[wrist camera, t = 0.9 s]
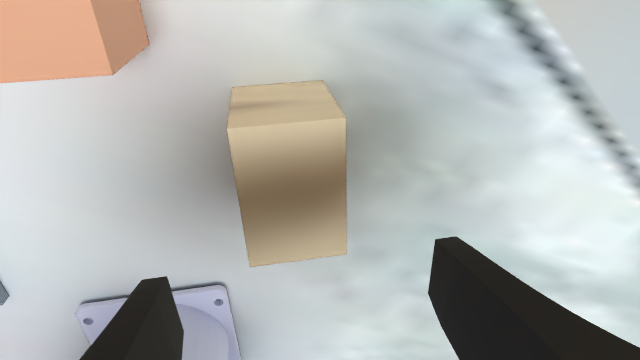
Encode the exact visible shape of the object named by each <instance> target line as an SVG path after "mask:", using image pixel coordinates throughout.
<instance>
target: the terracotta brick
mask: <svg viewBox="0 0 640 360" xmlns="http://www.w3.org/2000/svg"><path fill="white" fill-rule="evenodd" d="M148 45H150V44H149V40H148V36H147V32H146V28H145V24H144V20H143V15H142V11H141V7H140V3H139V0H0V83H9V82H23V81H37V80H50V79H64V78H77V77H91V76H104V75H113V74H114V73H116V72H117V71H118V70H119V69H120V68H122V67H123V66H124V65H125V64H127V63H128V62H129V61H130V60H131V59H133V58H134V57H135V56H136V55H137V54H139V53H140V52H141V51H142V50H143V49H145V48H146V47H147V46H148Z"/></svg>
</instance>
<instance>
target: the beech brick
mask: <svg viewBox="0 0 640 360" xmlns="http://www.w3.org/2000/svg"><path fill="white" fill-rule="evenodd" d="M227 133H228V139H229V145H230V151H231V157H232V163H233V169H234V175H235V181H236V187H237V193H238V199H239V205H240V211H241V217H242V223H243V229H244V235H245V241H246V247H247V253H248V259H249V265H250V267H256V266H263V265H270V264H278V263H285V262H293V261H300V260H308V259H315V258H322V257H330V256H337V255H345V254H347V231H346V117H345V115H344V114H343V112H342V111H341V109H340V107H339V106H338V104H337V102H336V101H335V99H334V98H333V96H332V94H331V93H330V91H329V90H328V88H327V86H326V85H325V83H324V82H323V80H318V81H306V82H293V83H281V84H268V85H256V86H243V87H232V94H231V101H230V109H229V116H228V124H227Z"/></svg>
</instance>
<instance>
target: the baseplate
mask: <svg viewBox="0 0 640 360" xmlns="http://www.w3.org/2000/svg"><path fill="white" fill-rule="evenodd" d="M8 297H9V296H8V294H7V292H6V291H5V289H4V287H3V286H2V284H1V282H0V305H3V304H4V303H5V301H6V300H7V298H8Z"/></svg>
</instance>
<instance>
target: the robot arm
mask: <svg viewBox="0 0 640 360" xmlns="http://www.w3.org/2000/svg"><path fill="white" fill-rule="evenodd" d="M428 294H429V297H430V299H431V302H432V305H433V307H434V310H435V312H436V315H437V317H438V319H439V322H440V324H441V327H442V329H443V330H444V332H445V334H446V336H447V338H448V340H449V342H450V343H451V345H452V347H453V349H454V351H455V353H456V354H457V356H458V358H459V360H640V348H639V347H637V346H635V345H633V344H631V343H629V342H627V341H625V340H623V339H621V338H619V337H617V336H615V335H613V334H611V333H609V332H607V331H606V330H604V329H602V328H600V327H598V326H596V325H594V324H592V323H590V322H588V321H587V320H585V319H583V318H581V317H580V316H578V315H576V314H574V313H572V312H571V311H569V310H567V309H566V308H564V307H562V306H561V305H559V304H557V303H556V302H554V301H552V300H551V299H549V298H547V297H546V296H544V295H543V294H541V293H539V292H538V291H536V290H535V289H533V288H532V287H530V286H529V285H527V284H525V283H524V282H522V281H521V280H519V279H518V278H516V277H515V276H513V275H512V274H510V273H509V272H507V271H506V270H505V269H503V268H502V267H500V266H499V265H497V264H496V263H494V262H493V261H491V260H490V259H489V258H487V257H486V256H484V255H483V254H481V253H480V252H478V251H477V250H476V249H474V248H473V247H471V246H470V245H468V244H467V243H465V242H464V241H462V240H461V239H459V238H458V237H449V238H442V239H435V245H434V253H433V260H432V268H431V275H430V283H429V291H428ZM217 299H221V301H217ZM75 315H76V317H77V319H78V321H79V323H80V325H81V327H82V329H83V331H84V333H85V335H86V337H87V339H88V341H89V343H90V345H91V346H90V347H89V348H88V350H87V351H86V352H85V353H84V355H83V356H82V357H81V358H80V360H241V356H240V351H239V346H238V342H237V337H236V332H235V328H234V323H233V318H232V314H231V309H230V304H229V299H228V295H227V290H226V288H225V287H223V286H220V285H214V286H207V287H200V288H193V289H186V290H179V291H171V288H170V285H169V282H168V279H167V276H166V277H159V278H152V279H145V280H142V281H141V282H140V283H139V284H138V285H137V287H136V288H135V289H134V291H133V292H132V293H131V294H130V296H129V297H128V298H121V299H114V300H107V301H100V302H93V303H86V304H82V305H80V306H78V308H77V310H76V313H75ZM88 318H90V319H88Z"/></svg>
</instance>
